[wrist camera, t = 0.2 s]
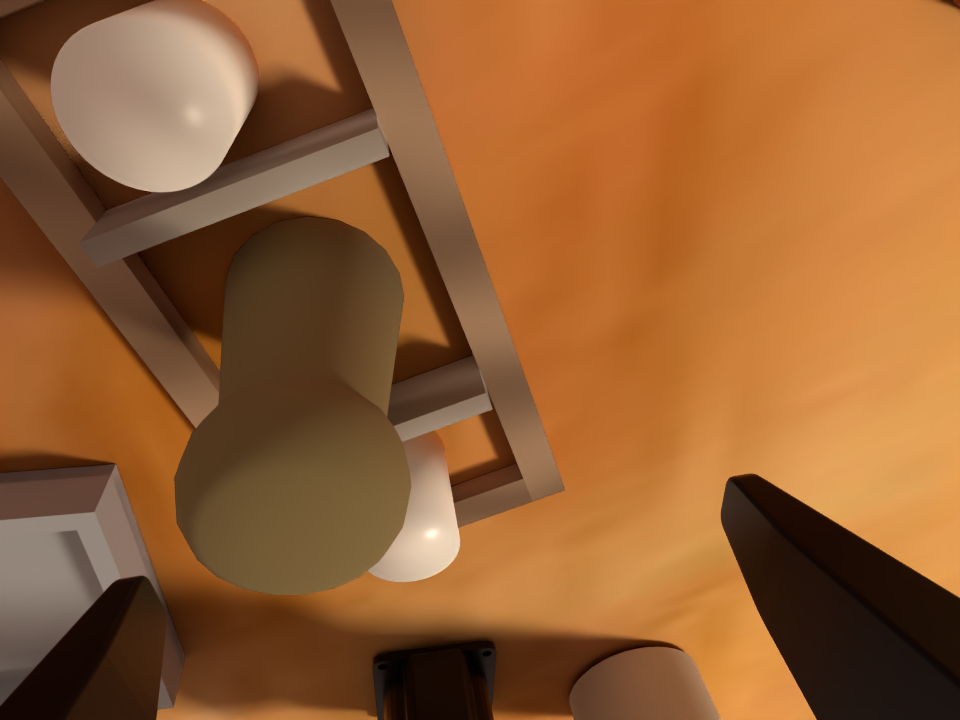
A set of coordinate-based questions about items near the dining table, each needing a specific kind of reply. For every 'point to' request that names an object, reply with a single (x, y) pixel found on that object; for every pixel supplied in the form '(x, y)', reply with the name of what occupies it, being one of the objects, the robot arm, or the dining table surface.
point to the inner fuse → (423, 517)
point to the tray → (67, 564)
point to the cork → (300, 416)
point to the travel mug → (643, 688)
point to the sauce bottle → (957, 2)
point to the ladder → (269, 176)
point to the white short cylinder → (155, 92)
